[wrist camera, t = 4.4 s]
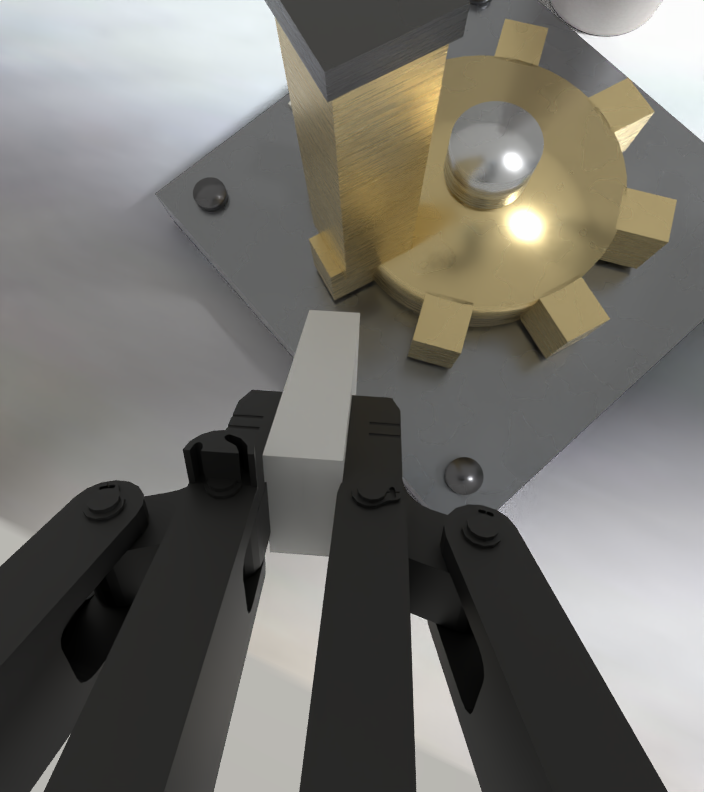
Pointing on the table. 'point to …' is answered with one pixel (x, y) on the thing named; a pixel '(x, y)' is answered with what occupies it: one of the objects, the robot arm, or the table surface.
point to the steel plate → (483, 346)
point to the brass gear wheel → (424, 175)
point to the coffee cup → (606, 14)
